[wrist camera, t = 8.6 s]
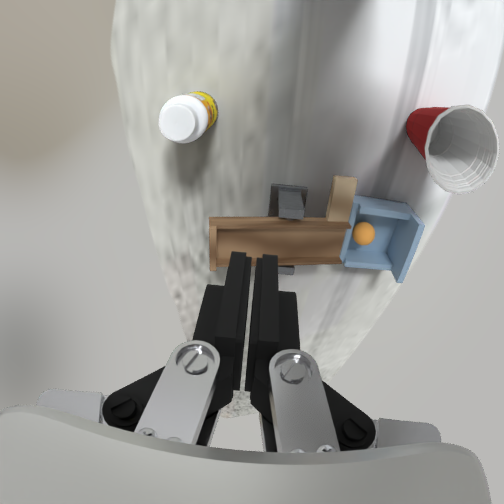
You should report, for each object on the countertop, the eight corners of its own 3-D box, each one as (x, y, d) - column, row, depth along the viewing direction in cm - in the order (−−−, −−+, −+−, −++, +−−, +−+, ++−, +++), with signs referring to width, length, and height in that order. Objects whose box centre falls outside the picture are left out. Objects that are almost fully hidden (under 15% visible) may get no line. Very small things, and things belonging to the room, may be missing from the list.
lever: (209, 170, 33) (209, 179, 31) (354, 177, 36) (364, 186, 33) (209, 260, 40) (210, 274, 38) (335, 257, 43) (342, 270, 40)
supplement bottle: (210, 136, 38) (191, 156, 30) (173, 122, 37) (144, 139, 29) (225, 99, 35) (211, 107, 27) (187, 85, 34) (160, 90, 26)
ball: (358, 215, 43) (352, 223, 41) (379, 222, 42) (375, 232, 39) (353, 234, 45) (347, 244, 43) (373, 242, 44) (368, 252, 41)
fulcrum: (271, 183, 41) (271, 205, 35) (306, 187, 41) (313, 209, 35) (264, 245, 47) (263, 274, 41) (296, 248, 47) (299, 277, 41)
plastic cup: (373, 127, 36) (409, 150, 26) (420, 76, 30) (468, 84, 20) (419, 177, 39) (459, 214, 29) (462, 131, 34) (510, 156, 24)
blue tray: (347, 193, 41) (359, 215, 36) (406, 203, 41) (425, 225, 36) (334, 251, 47) (341, 278, 41) (389, 256, 47) (402, 283, 41)
